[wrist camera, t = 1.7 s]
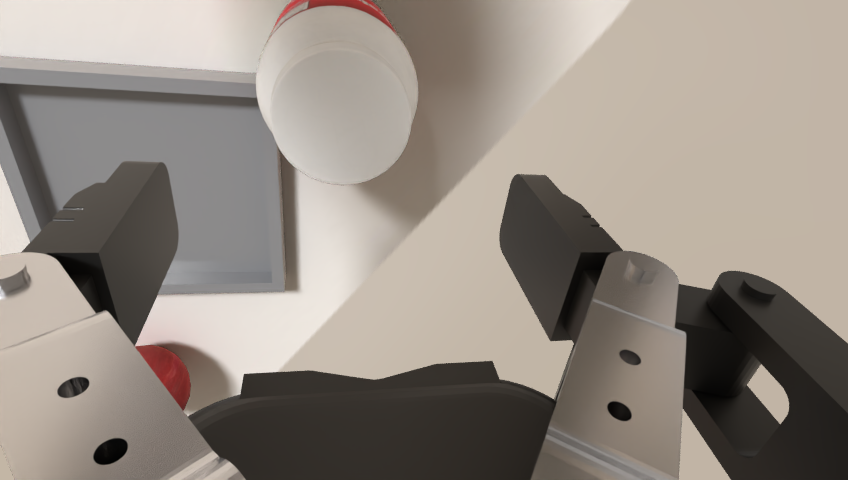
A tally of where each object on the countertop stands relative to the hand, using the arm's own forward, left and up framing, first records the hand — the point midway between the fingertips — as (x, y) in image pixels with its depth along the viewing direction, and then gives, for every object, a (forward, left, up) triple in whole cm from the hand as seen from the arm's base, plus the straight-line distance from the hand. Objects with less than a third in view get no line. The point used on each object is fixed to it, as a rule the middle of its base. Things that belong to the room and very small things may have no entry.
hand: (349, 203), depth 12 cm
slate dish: (+8, -10, -16) cm, 21 cm away
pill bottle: (0, 0, -17) cm, 17 cm away
